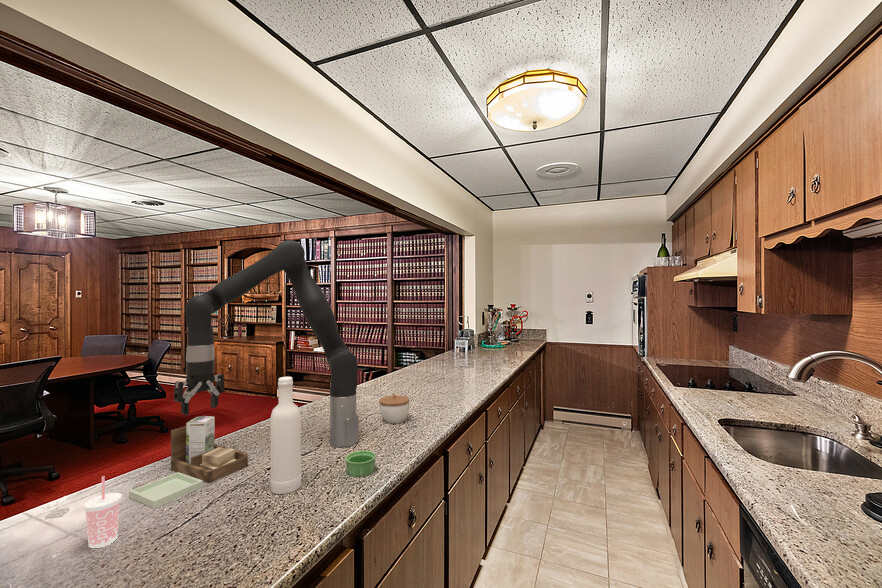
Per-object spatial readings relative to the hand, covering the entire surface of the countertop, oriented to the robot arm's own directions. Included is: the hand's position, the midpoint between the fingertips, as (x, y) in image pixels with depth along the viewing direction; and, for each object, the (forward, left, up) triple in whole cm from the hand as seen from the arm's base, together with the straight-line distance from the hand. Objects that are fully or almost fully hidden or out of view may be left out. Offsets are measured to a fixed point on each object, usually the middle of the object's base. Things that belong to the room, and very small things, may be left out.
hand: (200, 411), depth 119 cm
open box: (-5, 0, -17) cm, 18 cm away
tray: (-9, +14, -17) cm, 24 cm away
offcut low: (-9, 0, -17) cm, 20 cm away
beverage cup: (-20, +32, -17) cm, 41 cm away
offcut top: (-9, 0, -14) cm, 17 cm away
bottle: (-36, -2, -17) cm, 40 cm away
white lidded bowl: (-31, -62, -17) cm, 71 cm away
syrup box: (0, 0, -17) cm, 17 cm away
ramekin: (-48, -19, -17) cm, 54 cm away
